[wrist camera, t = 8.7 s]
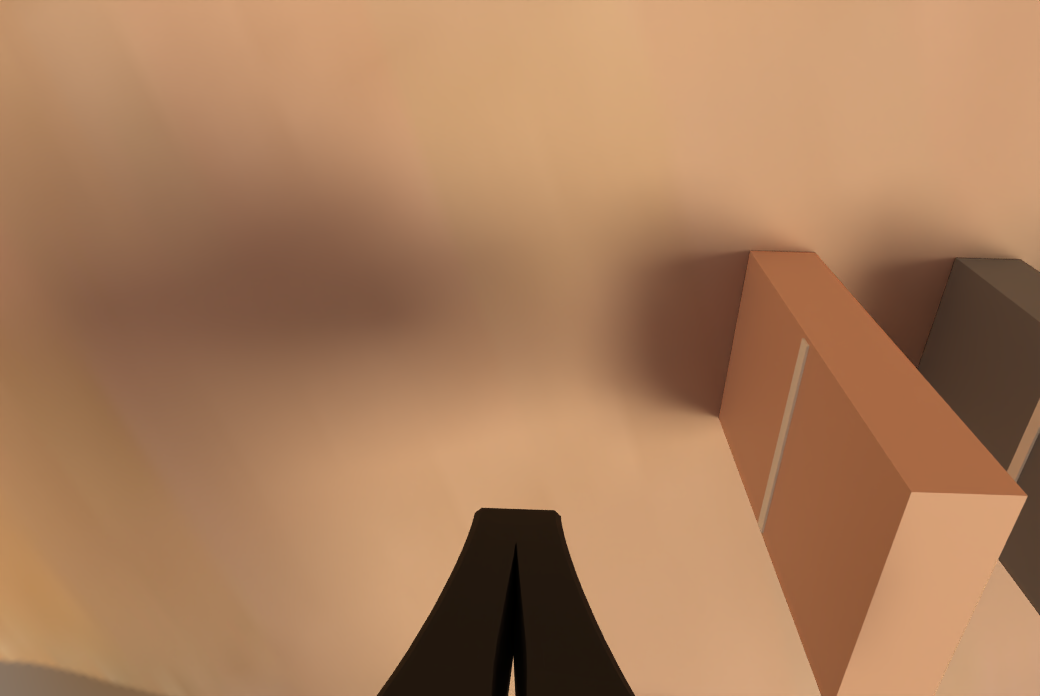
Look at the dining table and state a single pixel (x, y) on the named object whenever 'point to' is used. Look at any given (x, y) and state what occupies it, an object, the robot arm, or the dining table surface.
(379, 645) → the dining table surface
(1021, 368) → the domino
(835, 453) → the terracotta domino
